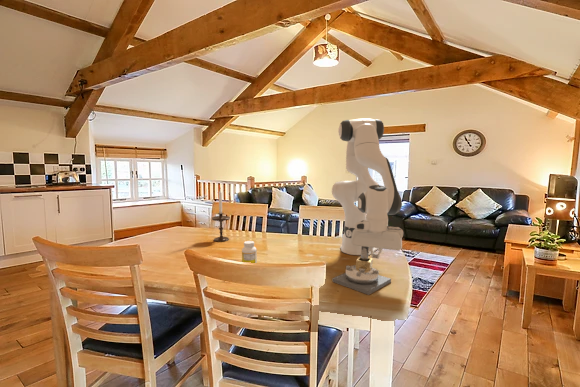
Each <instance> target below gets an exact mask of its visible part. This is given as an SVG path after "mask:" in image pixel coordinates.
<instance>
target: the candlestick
mask: <svg viewBox="0 0 580 387" xmlns="http://www.w3.org/2000/svg"><path fill="white" fill-rule="evenodd" d="M218 188H219V191H218V211H219V212H217V214H218V216H217V215H216V216H212V217H211V221H216V222H217V221H218V222H219V227H218V230H219V236H218V237H214V238H213V241H214V242H216V243H222V242H223V243H224V242H228V241H229V239H230V238H229V237H228V236H223V234H224V231H223V230H224V227H223V221H229V220H230V218H231V217H230V216H227V215H224V214H225V213H224V212H223V194H222V193H223V192H222V190H221V186H220V185H218Z"/></svg>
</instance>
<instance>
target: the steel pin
mask: <svg viewBox="0 0 580 387" xmlns="http://www.w3.org/2000/svg"><path fill="white" fill-rule="evenodd" d="M369 256H370V255H369V247H364V246H361V255H360V257H361V260H362V261H368V258H369Z"/></svg>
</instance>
